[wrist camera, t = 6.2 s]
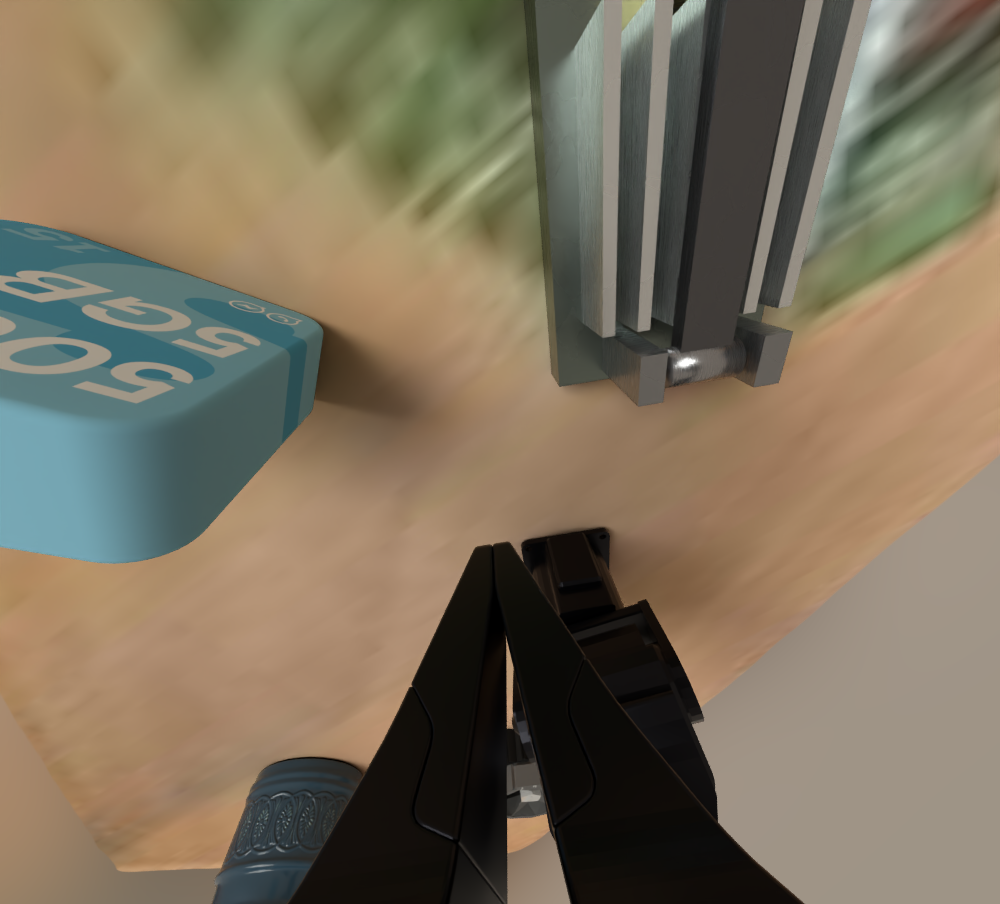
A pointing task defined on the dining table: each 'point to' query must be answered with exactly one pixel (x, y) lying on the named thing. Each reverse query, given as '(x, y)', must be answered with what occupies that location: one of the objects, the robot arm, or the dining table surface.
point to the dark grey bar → (728, 180)
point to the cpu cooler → (522, 782)
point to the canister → (283, 829)
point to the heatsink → (662, 177)
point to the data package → (134, 396)
